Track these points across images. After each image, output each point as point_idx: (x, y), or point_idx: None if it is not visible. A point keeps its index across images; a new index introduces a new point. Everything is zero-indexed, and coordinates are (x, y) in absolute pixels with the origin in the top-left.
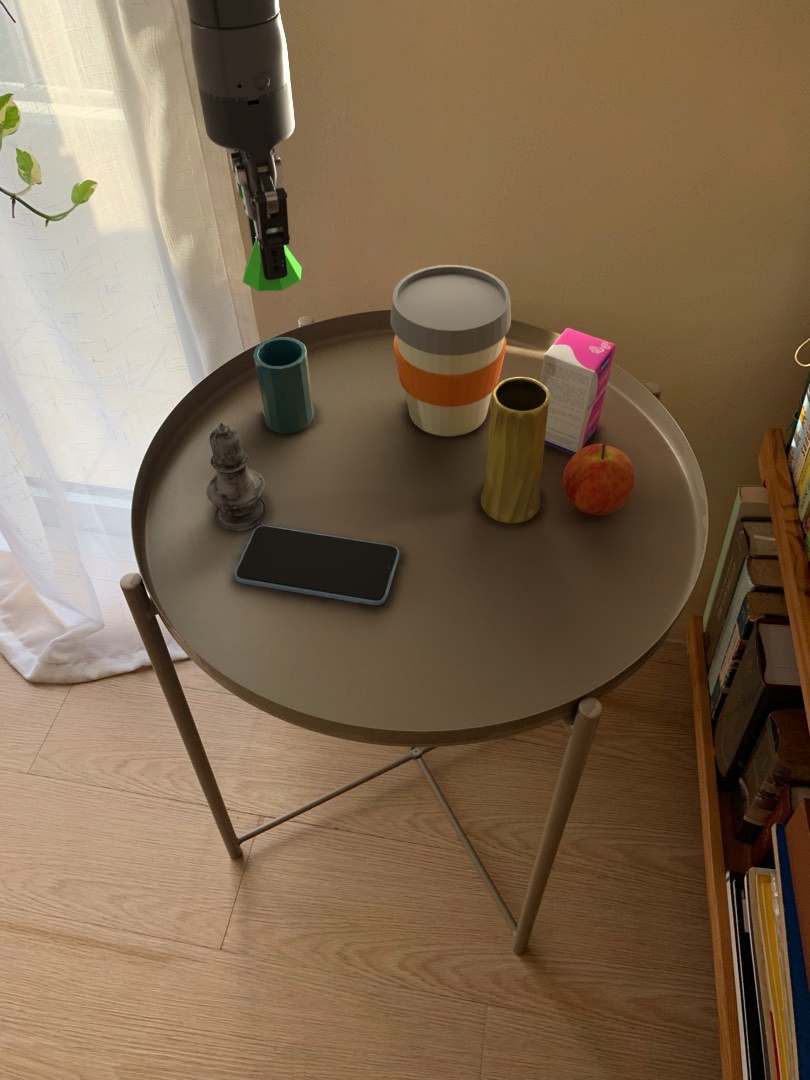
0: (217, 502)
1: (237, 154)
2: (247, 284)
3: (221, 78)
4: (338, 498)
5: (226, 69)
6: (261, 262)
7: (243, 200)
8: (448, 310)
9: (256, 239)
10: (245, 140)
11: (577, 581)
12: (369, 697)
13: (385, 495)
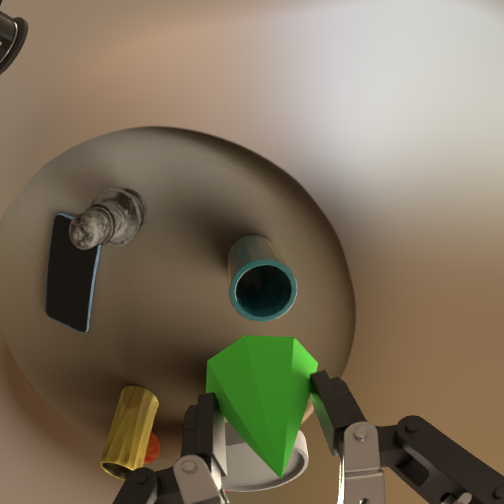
0: (95, 201)
1: None
2: (231, 344)
3: None
4: (138, 296)
5: None
6: (211, 412)
7: (371, 443)
8: (235, 465)
9: (182, 466)
10: None
11: (87, 407)
12: (4, 294)
13: (142, 331)
